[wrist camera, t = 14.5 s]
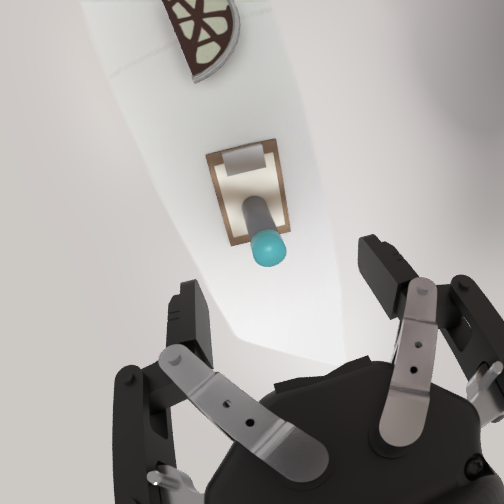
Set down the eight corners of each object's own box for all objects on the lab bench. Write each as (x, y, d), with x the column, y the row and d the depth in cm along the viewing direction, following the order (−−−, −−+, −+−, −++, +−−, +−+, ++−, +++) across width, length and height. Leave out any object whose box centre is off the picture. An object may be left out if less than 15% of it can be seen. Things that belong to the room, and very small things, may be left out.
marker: (238, 198, 39) (250, 243, 30) (264, 192, 39) (284, 235, 30) (244, 221, 41) (256, 270, 32) (268, 215, 41) (288, 262, 32)
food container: (246, 65, 30) (261, 62, 21) (196, 81, 30) (194, 84, 22) (213, -18, 22) (217, -48, 14) (163, -1, 23) (149, -26, 15)
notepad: (205, 154, 35) (205, 158, 34) (274, 138, 36) (277, 141, 34) (230, 243, 44) (231, 250, 42) (289, 228, 44) (292, 235, 42)
